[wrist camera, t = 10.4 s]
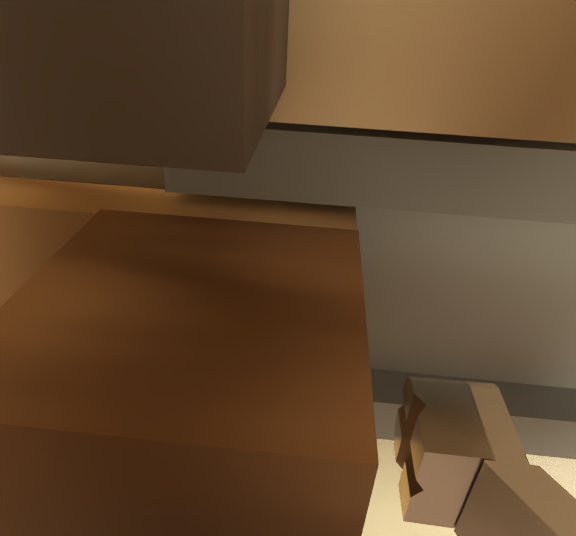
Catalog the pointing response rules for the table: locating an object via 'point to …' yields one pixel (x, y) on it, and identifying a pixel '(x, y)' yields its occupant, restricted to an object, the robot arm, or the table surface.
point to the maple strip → (438, 67)
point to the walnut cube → (188, 383)
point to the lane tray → (444, 258)
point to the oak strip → (92, 197)
